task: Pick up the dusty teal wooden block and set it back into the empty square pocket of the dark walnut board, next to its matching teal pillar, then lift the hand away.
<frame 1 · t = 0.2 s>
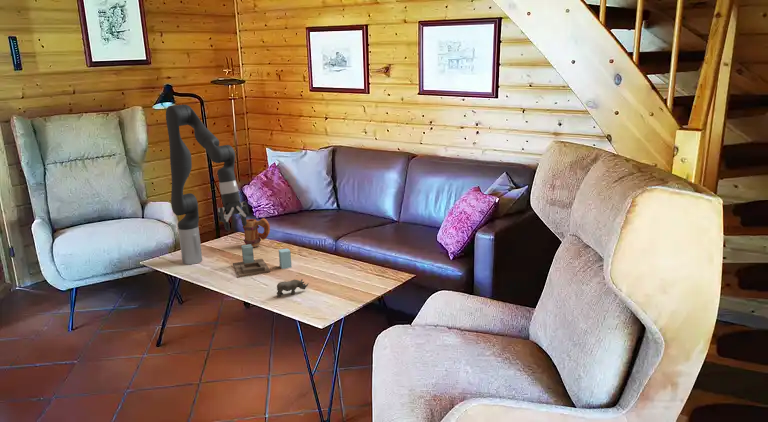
hand: (236, 227, 250), 23 cm above the table, tool pointing down, fingers open, 8 cm apart
teal block: (285, 266, 266), on the table
walnut board: (251, 268, 265), on the table
mug: (257, 246, 297), on the table
rhino figurine: (293, 294, 235), on the table
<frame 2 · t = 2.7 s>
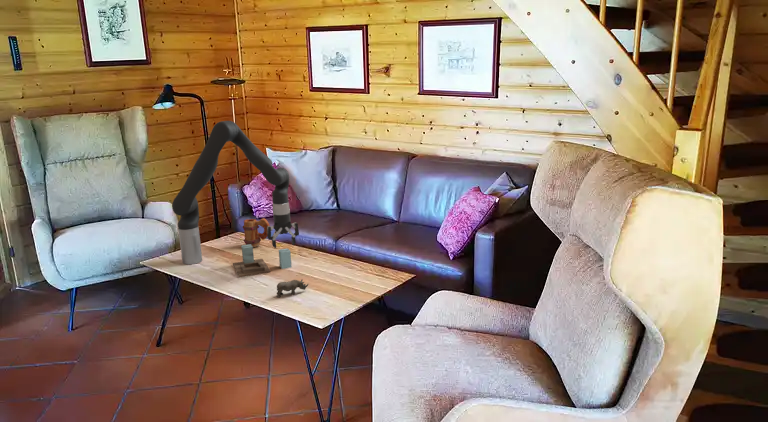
hand: (284, 246, 264), 10 cm above the table, tool pointing down, fingers open, 8 cm apart
nothing on the table moved.
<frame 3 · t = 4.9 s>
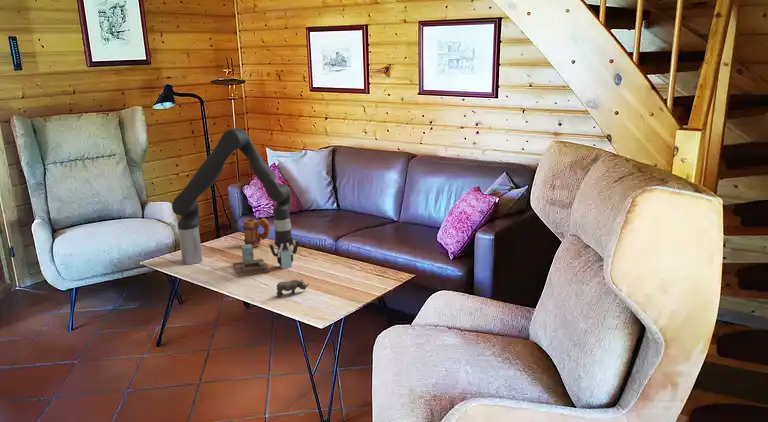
hand: (285, 263, 266), 2 cm above the table, tool pointing down, fingers closed on teal block, 4 cm apart
teal block: (285, 266, 266), on the table, touching gripper
everything else where it was.
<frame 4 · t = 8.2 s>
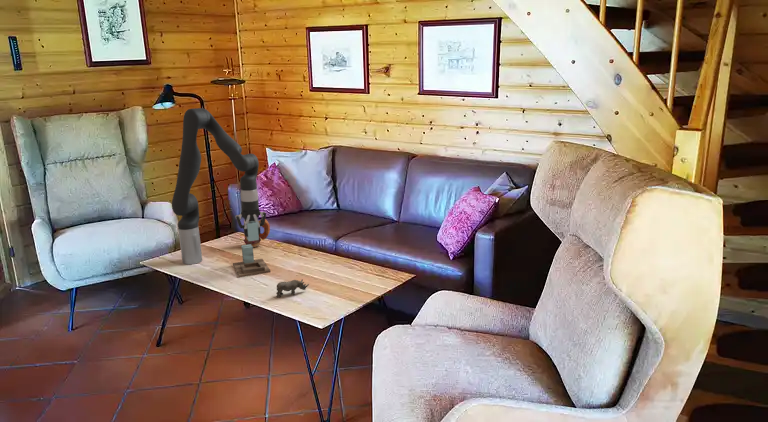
hand: (252, 235, 258), 17 cm above the table, tool pointing down, fingers closed on teal block, 4 cm apart
teal block: (252, 239, 259), point 15 cm above the table, touching gripper
everything else where it was.
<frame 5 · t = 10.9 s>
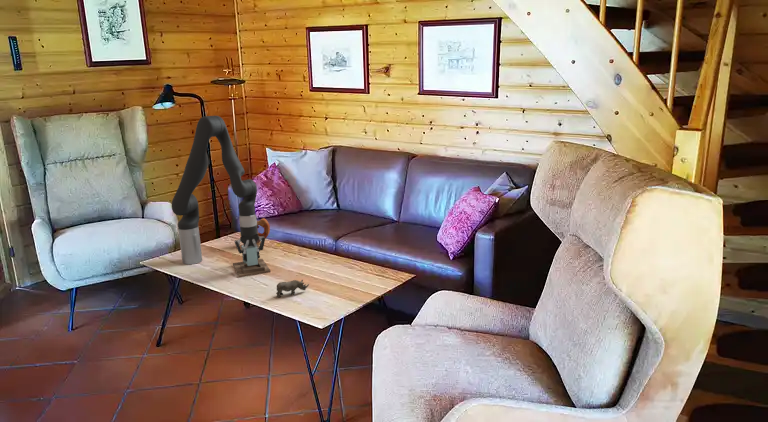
hand: (251, 260, 260), 5 cm above the table, tool pointing down, fingers closed on teal block, 4 cm apart
teal block: (252, 263, 261), point 4 cm above the table, touching gripper
everything else where it was.
when the fingers open (5 cm above the table, at t = 11.5 s): teal block drops 3 cm, resting on walnut board.
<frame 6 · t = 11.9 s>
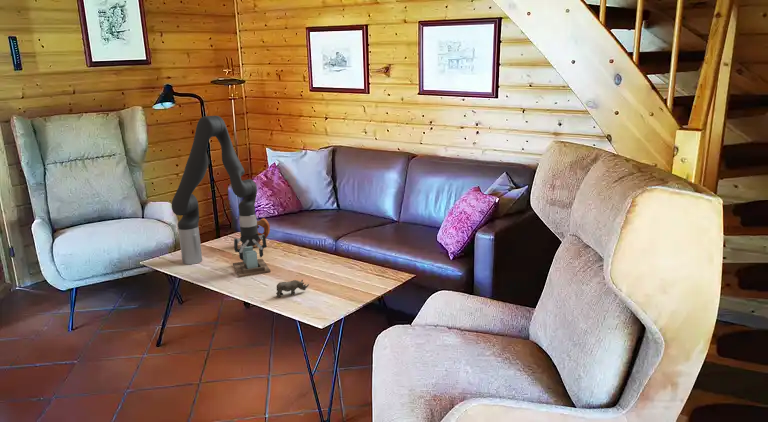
hand: (251, 258, 260), 6 cm above the table, tool pointing down, fingers open, 8 cm apart
teal block: (252, 268, 262), point 1 cm above the table, touching walnut board
everything else where it was.
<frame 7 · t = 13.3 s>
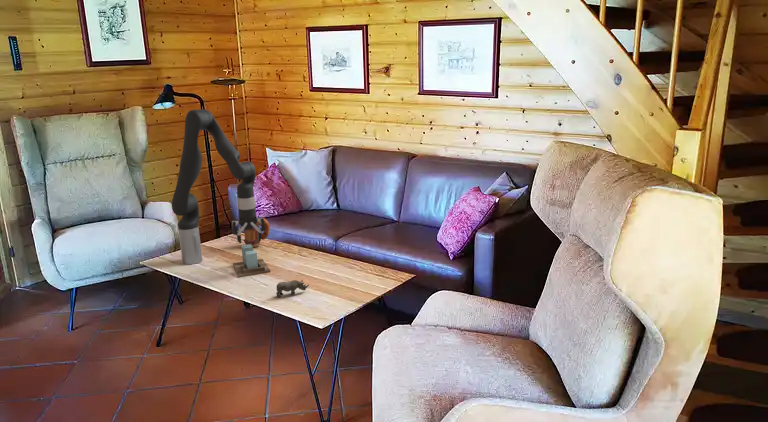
hand: (249, 241, 258), 14 cm above the table, tool pointing down, fingers open, 8 cm apart
nothing on the table moved.
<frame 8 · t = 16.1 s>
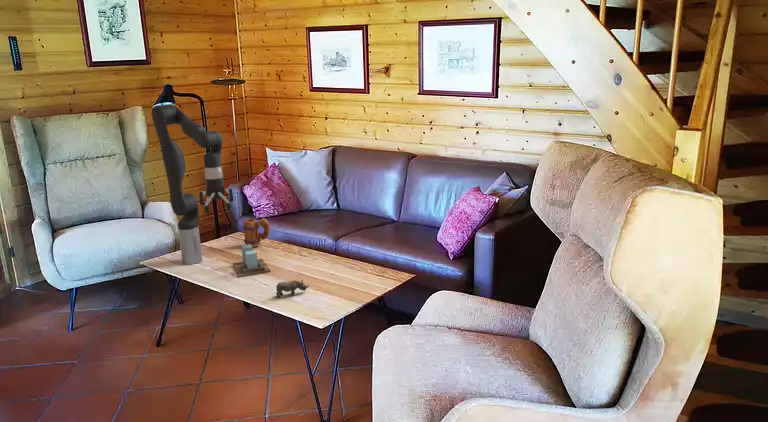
hand: (217, 212, 255), 28 cm above the table, tool pointing down, fingers open, 8 cm apart
nothing on the table moved.
at the end: teal block 0.1 cm from the target spot on the walnut board, point 1.0 cm above the walnut board's base; teal block tilted 0°; the gripper is holding nothing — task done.
